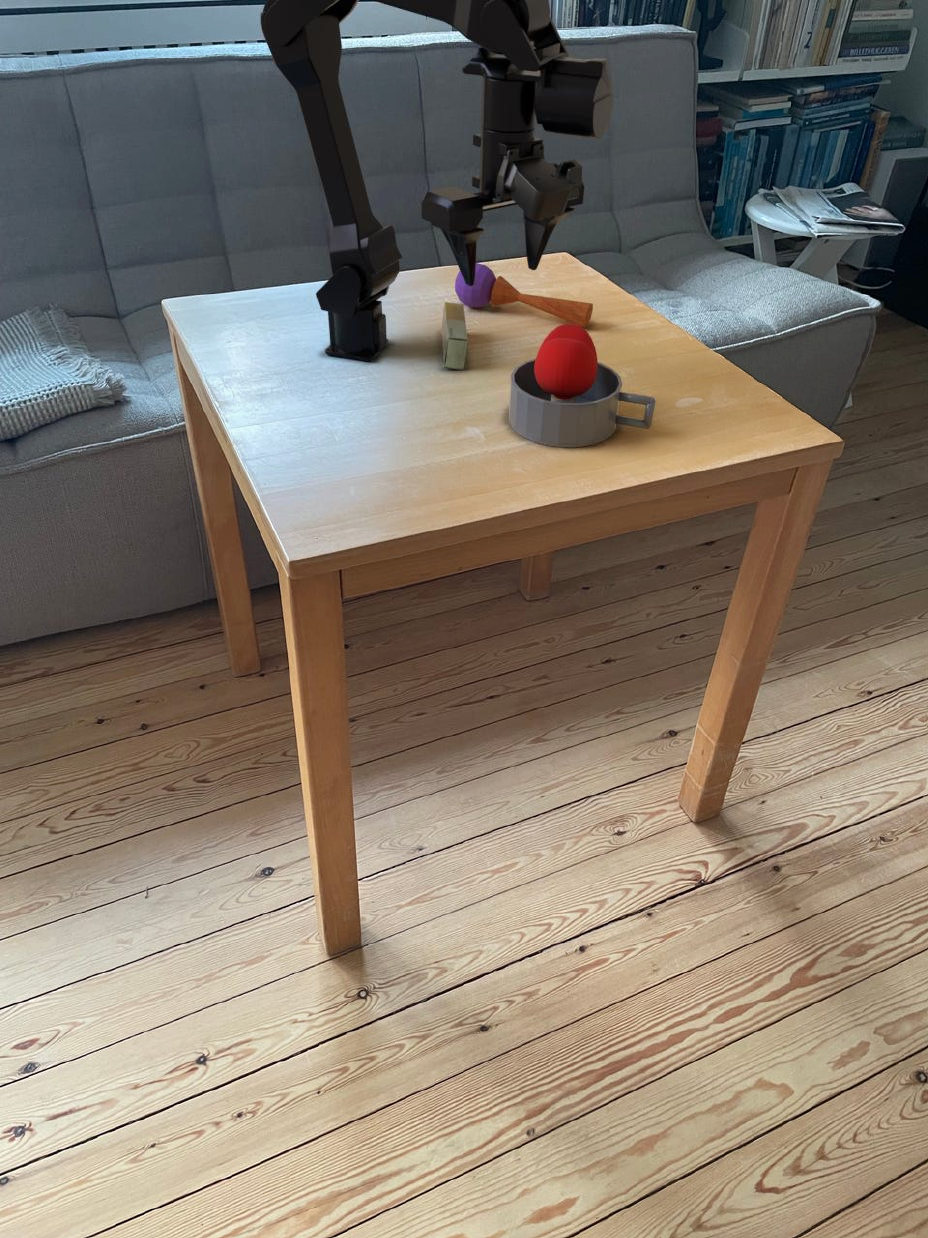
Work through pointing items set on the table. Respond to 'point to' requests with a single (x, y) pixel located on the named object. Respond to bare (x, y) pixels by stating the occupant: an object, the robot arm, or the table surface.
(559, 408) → the measuring cup
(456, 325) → the medication box
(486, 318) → the table surface
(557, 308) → the maraca
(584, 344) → the light bulb
